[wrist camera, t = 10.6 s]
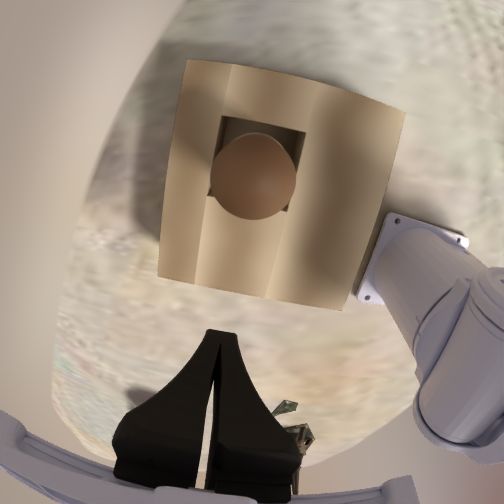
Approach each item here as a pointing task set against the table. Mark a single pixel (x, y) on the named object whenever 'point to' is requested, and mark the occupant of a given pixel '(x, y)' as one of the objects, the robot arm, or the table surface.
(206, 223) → the socket block
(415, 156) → the table surface
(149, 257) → the table surface
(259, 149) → the peg
